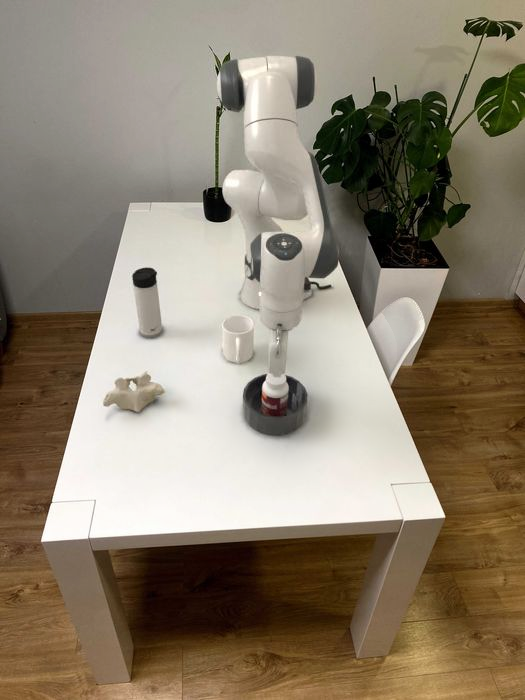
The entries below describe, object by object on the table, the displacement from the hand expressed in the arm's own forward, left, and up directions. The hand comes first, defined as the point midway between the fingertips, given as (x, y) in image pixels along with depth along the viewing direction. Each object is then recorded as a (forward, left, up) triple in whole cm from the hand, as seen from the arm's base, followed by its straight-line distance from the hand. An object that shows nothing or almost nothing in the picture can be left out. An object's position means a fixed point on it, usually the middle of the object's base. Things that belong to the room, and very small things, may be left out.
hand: (278, 360), depth 122 cm
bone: (+27, -19, -17) cm, 37 cm away
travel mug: (+14, -44, -17) cm, 49 cm away
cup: (-2, -22, -17) cm, 28 cm away
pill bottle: (0, 0, -16) cm, 16 cm away
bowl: (0, 0, -17) cm, 17 cm away
